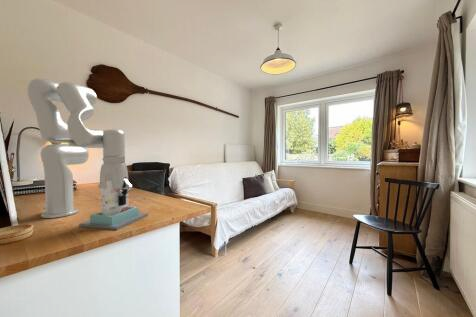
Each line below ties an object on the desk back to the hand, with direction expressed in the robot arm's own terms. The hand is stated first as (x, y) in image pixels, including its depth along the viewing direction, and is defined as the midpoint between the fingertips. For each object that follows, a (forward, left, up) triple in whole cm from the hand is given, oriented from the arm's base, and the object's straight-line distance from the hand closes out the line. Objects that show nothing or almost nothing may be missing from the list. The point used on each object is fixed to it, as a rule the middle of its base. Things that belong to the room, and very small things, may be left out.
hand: (115, 204), depth 83 cm
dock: (0, 0, -7) cm, 7 cm away
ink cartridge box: (0, 0, -5) cm, 5 cm away
